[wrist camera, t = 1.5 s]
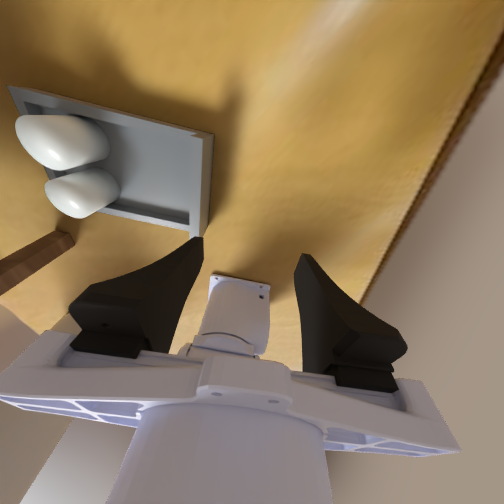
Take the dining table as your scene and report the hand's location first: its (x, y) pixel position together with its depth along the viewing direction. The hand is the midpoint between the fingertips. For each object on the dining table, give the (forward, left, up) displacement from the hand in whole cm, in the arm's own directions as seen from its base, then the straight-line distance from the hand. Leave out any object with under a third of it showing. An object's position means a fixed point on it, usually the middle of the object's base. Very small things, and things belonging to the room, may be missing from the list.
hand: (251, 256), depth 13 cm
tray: (+13, -1, -10) cm, 16 cm away
